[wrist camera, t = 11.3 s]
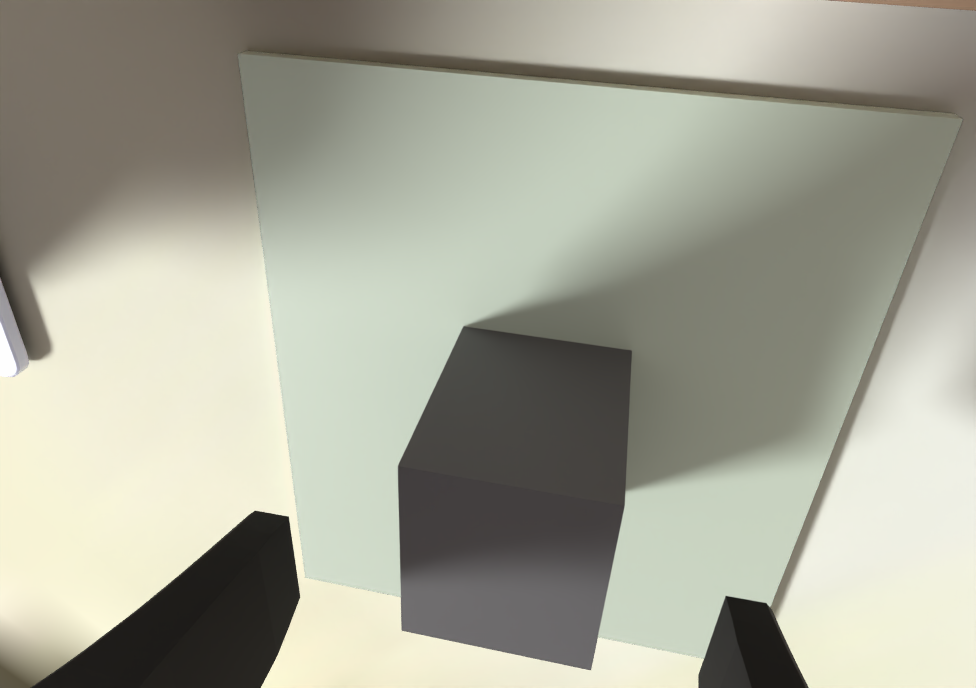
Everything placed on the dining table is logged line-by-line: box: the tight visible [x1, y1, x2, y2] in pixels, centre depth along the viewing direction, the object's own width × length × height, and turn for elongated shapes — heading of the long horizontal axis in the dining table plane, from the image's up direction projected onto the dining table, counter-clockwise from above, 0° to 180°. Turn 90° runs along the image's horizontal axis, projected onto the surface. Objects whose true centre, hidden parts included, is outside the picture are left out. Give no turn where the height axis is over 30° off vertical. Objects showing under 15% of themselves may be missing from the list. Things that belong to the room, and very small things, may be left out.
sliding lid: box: [238, 51, 963, 670], centre depth 14 cm, size 12×14×6 cm
